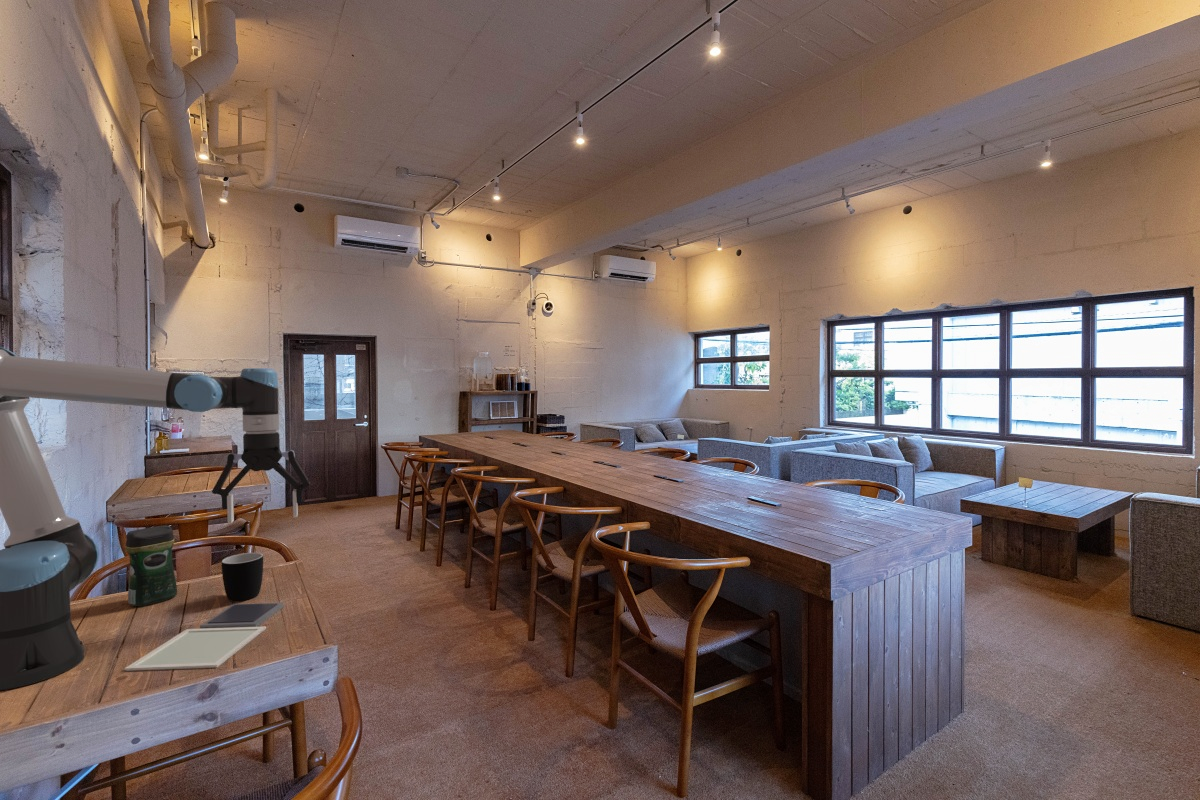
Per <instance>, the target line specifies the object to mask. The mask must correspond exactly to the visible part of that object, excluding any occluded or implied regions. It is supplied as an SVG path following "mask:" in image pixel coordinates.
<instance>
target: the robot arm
mask: <svg viewBox="0 0 1200 800" xmlns="http://www.w3.org/2000/svg"><path fill="white" fill-rule="evenodd" d="M240 373H241V374H240V375H239V376H208V375H204V374H191V373H190V374H188V373H181V372H180V373H179V372H178V373H177V372H176V373H175V372H167V371H160V370H149V369H141V368H140V369H139V368H132V367H131V368H130V367H121V366H112V365H101V364H93V363H92V364H91V363H84V362H83V363H82V362H74V361H73V362H72V361H66V360H65V361H63V360H54V359H47V358H46V359H44V358H43V359H42V358H37V357H36V358H35V357H26V356H18V355H17V354H16V353H14V351H13V352H12V351H11V350H9V349H7V348H4V347H3V346H0V511H1V514H2V516H3V519H4V521H5V523H6V526H7V528H8V530H9V536H8V537H7V538H6V540H5V542H4V543H3V547H4V548H1V549H0V691H4V690H11V689H15V688H21V687H25V686H28V685H32V684H35V683H38V682H41V681H45V680H48V679H50V678H53V677H56V676H58V675H60V674H62V673H63V674H64V673H65V672H67V671H69V670H71V669H72V668H75V667H76V666H77V665H79V664H80V663H81V662H82V661H83V660H84V658H85V645H84V643H83V642H82V641H81V640H80V639H79V635H78V633H77V630H76V628H75V627H74V624H73V622H72V618H71V595H70V594H71V593H70V592H71V591H73V590H74V589H75V588H76V587H77V586H78V585H80V584H82V583H83V582H84V581H86V579H88V578H89V576H90V575H92V573H93V572H94V570H95V568H96V567H97V564H98V562H99V558H100V549H99V546H98V544H97V542H96V540H95V539H94V538H92V537H91V536H90V535H88V534H87V533H85V532H84V530H83V528H82V526H81V524H80V521H79V519H76V518H72V517H69V516H68V515H67V514H66V512H65V510H64V509H65V508H64V507H63V504H62V502H61V500H60V497H59V495H58V492H57V490H56V486H55V484H54V482H53V479H52V477H51V475H50V471H49V470H48V467H47V465H46V463H45V460H44V457H43V455H42V452H41V450H40V448H39V445H38V443H37V441H36V437H35V435H34V433H33V431H32V430H33V429H32V428H31V425H30V423H29V420H28V418H27V415H26V413H25V408H26V407H27V405H28V404H29V402H30V401H31V399H30V398H32V399H33V398H34V399H43V400H44V399H45V400H47V399H48V400H57V401H58V400H59V401H71V402H81V403H82V402H84V403H94V404H95V403H96V404H98V403H99V404H110V405H122V406H134V407H135V406H136V407H145V408H146V407H149V408H161V409H172V410H182V411H183V410H184V411H188V412H192V413H194V412H195V413H204V412H208V411H211V410H218V409H219V410H221V409H242V411H241V412H242V431H243V432H244V434H243V435H242V437H243V439H242V440H243V441H242V444H243V445H242V446H243V452H242V454H241V453H239V454H237V453H234V452H231V453H229V454H228V455H227V460H226V464H225V466H224V469H223V470H222V472H221V473H220V475H219V477H218V480H217V481H216V483H215V485H214V487H213V488H212V490H211V493H212V494H213V495H219V496H220V497H221V508H222V509H223V510H227V511H226V512H227V524H228V525H229V524H233V522H234V521H235V518H234V517H235V513H234V493H231V492H232V490H233V489H234V488H235V487H236V486H237V485H238V484H239V483H240V482H241V480H242V479H243V478H245V476H246V475H247V474H248V473H249V472H251V471H253V472H259V471H266V472H267V471H271V470H274V471H275V472H277V473H278V474H279V475H280V476H281V477H282V478H283V479H284V480H286V482H288V484H290V485H291V486H292V487H293V490H292V514H293V515H292V516H293V517H292V518H293V519H294V518H298V516H299V511H298V510H299V507H298V506H299V505H298V504H301V503H302V502H303V490H304V489H306V488H308V487H310V485H311V481H310V479H309V478H308V477H307V475H306V473H305V472H304V470H303V468H302V467H301V465H300V463H299V462H298V460H297V459H296V454H295V450H293V449H291V450H287V451H281V449H280V448H281V445H280V443H281V442H280V433H279V432H277V431H279V430H280V414H279V407H280V406H279V380H278V373H277V371H276V370H275V369H273V368H264V367H263V368H262V367H261V368H259V367H258V368H257V367H256V368H253V367H252V368H251V367H250V368H242V369H241V372H240ZM282 458H284V459H285V460H287V461H288V462H289V463H290V466H291V467H292V469H293V470H294V472H295V473H296V475H297V477H298V478H299V480H300V481H301V483H300V481H298V479H296V477H294V475H292V474H291V473H290V472H289V471H288V470H286V468H284V467H283V465H282V464H281V463H280V462H279V461H280V460H281V459H282ZM239 460H241V461H242V462H243V463H244V464H245V466H244V467H243V468H242V469H241V470H240V472H239V473H237V475H236V476H235V477H234V478H232V480H231V481H230V482H229V483H228V485H227V486H226V487H225V488H223V486H224V484H225V483H226V481H227V479H228V477H229V475H230V474H231V472H232V470H233V468H234V466H235V464H237V463H238V462H239Z"/></svg>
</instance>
